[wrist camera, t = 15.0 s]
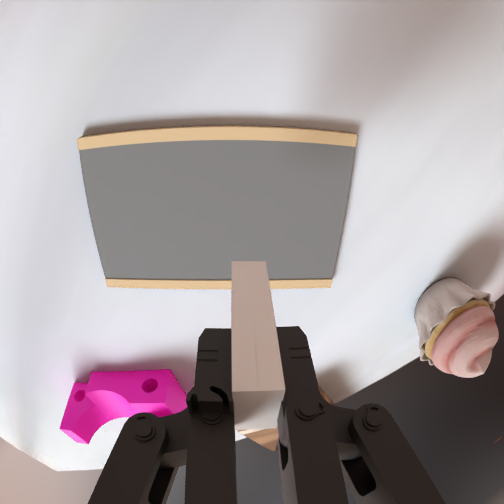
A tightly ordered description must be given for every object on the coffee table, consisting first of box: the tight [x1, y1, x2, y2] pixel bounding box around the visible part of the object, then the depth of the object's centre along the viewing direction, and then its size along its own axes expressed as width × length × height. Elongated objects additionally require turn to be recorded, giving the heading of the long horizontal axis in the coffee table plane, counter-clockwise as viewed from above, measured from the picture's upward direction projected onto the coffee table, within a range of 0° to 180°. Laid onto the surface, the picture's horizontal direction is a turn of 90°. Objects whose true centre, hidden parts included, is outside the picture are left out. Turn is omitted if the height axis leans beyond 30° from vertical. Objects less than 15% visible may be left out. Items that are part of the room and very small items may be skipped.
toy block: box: [60, 369, 187, 444], centre depth 29 cm, size 15×6×8 cm, turn 100°
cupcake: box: [414, 277, 499, 378], centre depth 22 cm, size 9×9×10 cm
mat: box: [77, 125, 357, 289], centre depth 20 cm, size 18×12×1 cm, turn 88°
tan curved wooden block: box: [238, 386, 335, 451], centre depth 34 cm, size 4×10×9 cm
